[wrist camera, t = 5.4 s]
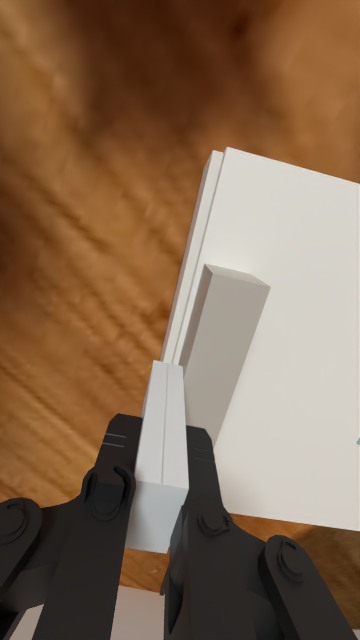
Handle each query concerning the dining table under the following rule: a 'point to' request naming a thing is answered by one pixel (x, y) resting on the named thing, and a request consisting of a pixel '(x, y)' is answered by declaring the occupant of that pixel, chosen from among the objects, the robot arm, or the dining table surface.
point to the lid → (278, 341)
